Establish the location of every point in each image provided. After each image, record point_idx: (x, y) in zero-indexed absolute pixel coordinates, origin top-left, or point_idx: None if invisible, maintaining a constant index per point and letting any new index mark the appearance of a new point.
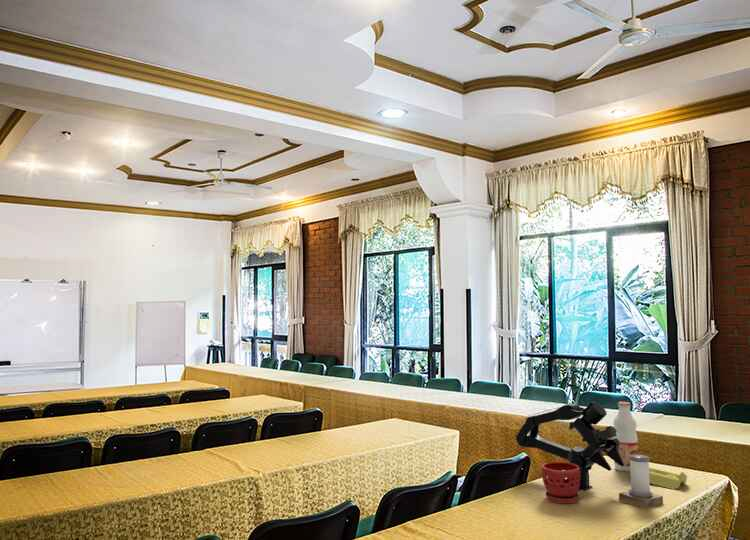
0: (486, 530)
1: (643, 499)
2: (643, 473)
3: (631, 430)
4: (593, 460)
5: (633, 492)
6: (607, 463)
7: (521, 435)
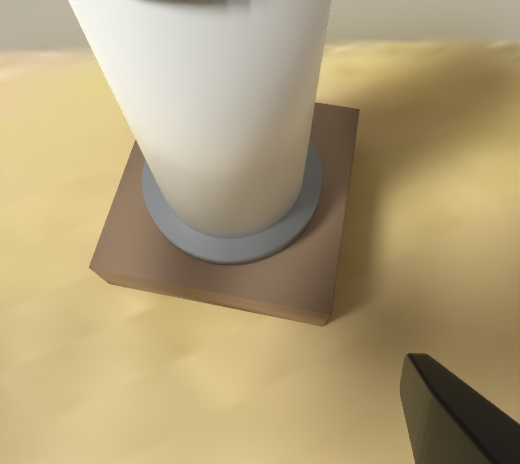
0: None
1: (338, 124)
2: None
3: None
4: None
5: (299, 197)
6: (490, 418)
7: None
